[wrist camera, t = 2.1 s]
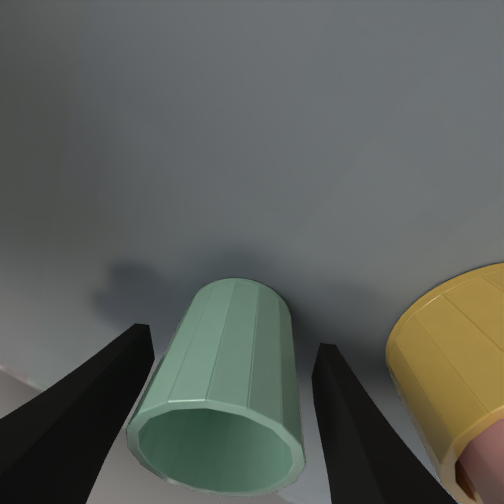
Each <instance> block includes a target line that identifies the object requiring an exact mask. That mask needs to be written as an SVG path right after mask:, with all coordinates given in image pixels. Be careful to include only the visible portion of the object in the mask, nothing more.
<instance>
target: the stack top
mask: <svg viewBox="0 0 504 504" xmlns="http://www.w3.org/2000/svg"><path fill="white" fill-rule="evenodd" d="M456 465H457V466H458V468H459V470H460V472H461V474H462V475H463V477H464V479H465V481H466V483H467V484H468V486H469V488H470V490H471V492H472V493H473V495H474V497H475V499H476V501H477V502H478V504H504V418H501V419H500V420H498V421H497V422H496V423H494V424H493V425H491V426H490V427H489V428H487V429H486V430H485V431H483V432H482V433H481V434H479V435H478V436H477V437H475V438H474V439H473V440H471V441H470V442H469V443H468V445H467V446H466V448H465V449H464V451H463V452H462V454H461V455H460V457H459V458H458V460H457V461H456Z"/></svg>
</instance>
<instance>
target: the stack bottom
mask: <svg viewBox="0 0 504 504" xmlns="http://www.w3.org/2000/svg"><path fill="white" fill-rule="evenodd" d="M385 357H386V364H387V368H388V370H389V372H390V375H391V378H392V381H393V383H394V386H395V388H396V390H397V392H398V394H399V396H400V398H401V400H402V402H403V404H404V406H405V408H406V410H407V413H408V415H409V417H410V419H411V421H412V423H413V425H414V427H415V429H416V431H417V433H418V435H419V437H420V440H421V442H422V444H423V446H424V448H425V450H426V452H427V454H428V456H429V458H430V460H431V462H432V464H433V466H434V469H435V471H436V473H437V475H438V477H439V479H440V481H441V483H442V484H443V486H444V487H445V488H446V489H447V490H448V491H449V492H450V494H451V495H452V496H453V497H454V498H455V499H456V500H457V501H458V502H460V503H462V504H478V502H477V501H476V499H475V497H474V495H473V493H472V492H471V490H470V488H469V486H468V484H467V483H466V481H465V479H464V477H463V475H462V474H461V472H460V470H459V468H458V466H457V465H456V461H457V460H458V458H459V457H460V455H461V454H462V452H463V451H464V449H465V448H466V446H467V445H468V443H469V442H470V441H471V440H473V439H474V438H475V437H477V436H478V435H479V434H481V433H482V432H483V431H485V430H486V429H487V428H489V427H490V426H491V425H493V424H494V423H496V422H497V421H498V420H500V419H501V418H504V263H498V264H493V265H489V266H486V267H482V268H478V269H475V270H472V271H470V272H467V273H464V274H461V275H459V276H457V277H455V278H452V279H450V280H448V281H446V282H444V283H443V284H441V285H439V286H437V287H435V288H434V289H432V290H431V291H429V292H428V293H426V294H425V295H423V296H422V297H421V298H419V299H418V300H417V301H416V302H415V303H414V304H412V305H411V306H410V307H409V308H408V309H407V310H406V311H405V312H404V314H403V315H402V316H401V317H400V318H399V320H398V321H397V323H396V324H395V325H394V327H393V329H392V331H391V333H390V335H389V338H388V341H387V344H386V351H385Z"/></svg>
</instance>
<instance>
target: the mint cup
mask: <svg viewBox="0 0 504 504" xmlns="http://www.w3.org/2000/svg"><path fill="white" fill-rule="evenodd" d="M126 435H127V445H128V449H129V450H130V451H131V453H132V454H133V455H134V456H135V458H136V459H137V460H138V461H139V463H140V464H141V465H142V466H144V467H145V468H146V469H148V470H149V471H151V472H152V473H154V474H155V475H157V476H158V477H160V478H161V479H164V480H165V481H167V482H170V483H172V484H175V485H177V486H180V487H183V488H185V489H188V490H191V491H195V492H201V493H205V494H210V495H216V496H225V497H252V496H257V495H263V494H268V493H274V492H277V491H279V490H281V489H283V488H285V487H286V486H288V485H290V484H292V483H294V482H295V481H297V479H298V477H299V476H300V474H301V473H302V471H303V469H304V468H305V466H306V457H305V447H304V437H303V427H302V416H301V406H300V396H299V386H298V376H297V365H296V355H295V345H294V335H293V327H292V320H291V314H290V311H289V309H288V306H287V305H286V303H285V301H284V300H283V299H282V298H281V297H280V296H279V295H278V294H277V293H276V292H275V291H274V290H272V289H271V288H269V287H267V286H266V285H264V284H261V283H259V282H256V281H253V280H249V279H243V278H226V279H221V280H218V281H214V282H212V283H210V284H208V285H206V286H204V287H203V288H202V289H200V290H199V291H198V292H197V293H196V294H195V296H194V297H193V299H192V300H191V302H190V304H189V306H188V307H187V309H186V311H185V312H184V314H183V316H182V318H181V320H180V322H179V324H178V326H177V328H176V330H175V332H174V334H173V336H172V338H171V340H170V342H169V344H168V346H167V348H166V350H165V352H164V354H163V356H162V358H161V360H160V362H159V364H158V366H157V368H156V370H155V372H154V374H153V376H152V378H151V380H150V382H149V384H148V386H147V388H146V390H145V392H144V394H143V396H142V398H141V400H140V402H139V404H138V406H137V408H136V410H135V412H134V414H133V416H132V418H131V420H130V422H129V424H128V426H127V428H126Z"/></svg>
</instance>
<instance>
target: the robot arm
mask: <svg viewBox="0 0 504 504" xmlns="http://www.w3.org/2000/svg"><path fill="white" fill-rule="evenodd" d="M154 360H155V356H154V350H153V345H152V339H151V333H150V328H149V325H145V324H136V323H135V324H134V325H132V326H131V327H130V328H129V329H127V330H126V331H125V332H123V333H122V334H121V335H120V336H118V337H117V338H116V339H115V340H113V341H112V342H111V343H109V344H108V345H107V346H106V347H104V348H103V349H102V350H100V351H99V352H98V353H97V354H95V355H94V356H93V357H91V358H90V359H89V360H87V361H86V362H85V363H83V364H82V365H81V366H79V367H78V368H77V369H75V370H74V371H72V372H71V373H70V374H68V375H67V376H65V377H64V378H63V379H61V380H60V381H58V382H57V383H56V384H54V385H53V386H51V387H50V388H48V389H47V390H46V391H44V392H43V393H41V394H39V395H38V396H37V397H35V398H33V399H32V400H31V401H29V402H27V403H26V404H24V405H22V406H21V407H19V408H18V409H16V410H14V411H13V412H11V413H10V414H8V415H6V416H5V417H3V418H1V419H0V504H86V502H87V499H88V497H89V495H90V492H91V489H92V488H93V485H94V483H95V481H96V479H97V476H98V474H99V472H100V470H101V467H102V465H103V463H104V460H105V458H106V456H107V454H108V452H109V450H110V448H111V446H112V444H113V442H114V440H115V438H116V437H117V435H118V433H119V431H120V429H121V427H122V426H123V424H124V422H125V420H126V418H127V416H128V414H129V413H130V411H131V409H132V407H133V405H134V403H135V401H136V400H137V398H138V396H139V394H140V392H141V390H142V388H143V386H144V384H145V382H146V380H147V377H148V375H149V373H150V370H151V367H152V365H153V362H154ZM312 388H313V398H314V406H315V411H316V417H317V422H318V427H319V432H320V437H321V442H322V447H323V452H324V458H325V463H326V468H327V473H328V479H329V485H330V493H331V501H332V504H458V503H457V502H456V501H455V500H454V499H453V498H452V497H451V496H450V495H449V494H448V493H447V492H446V491H445V490H444V488H443V487H442V486H441V485H440V484H439V483H438V482H437V481H436V479H435V478H434V477H433V476H432V475H431V474H430V473H429V471H428V470H427V469H426V468H425V467H424V466H423V465H422V463H421V462H420V461H419V460H418V459H417V457H416V456H415V455H414V454H413V453H412V451H411V450H410V449H409V448H408V447H407V445H406V444H405V443H404V442H403V440H402V439H401V438H400V437H399V435H398V434H397V433H396V432H395V430H394V429H393V428H392V426H391V425H390V424H389V422H388V421H387V420H386V419H385V417H384V416H383V415H382V413H381V412H380V410H379V409H378V408H377V406H376V405H375V404H374V402H373V401H372V399H371V398H370V396H369V395H368V394H367V392H366V391H365V389H364V388H363V386H362V385H361V383H360V382H359V381H358V379H357V378H356V376H355V374H354V373H353V371H352V370H351V368H350V367H349V365H348V364H347V362H346V360H345V359H344V357H343V356H342V354H341V352H340V351H339V349H338V347H337V346H336V345H334V344H325V343H320V346H319V349H318V353H317V357H316V361H315V365H314V369H313V372H312Z"/></svg>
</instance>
